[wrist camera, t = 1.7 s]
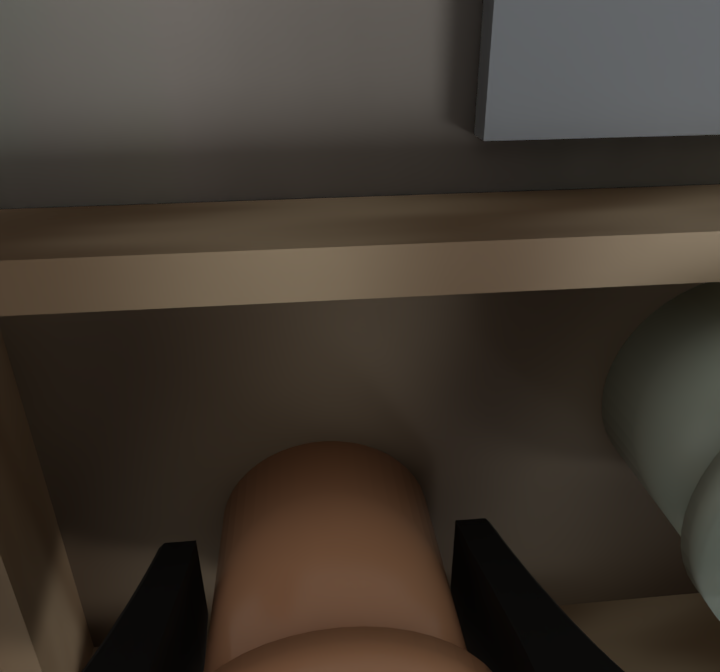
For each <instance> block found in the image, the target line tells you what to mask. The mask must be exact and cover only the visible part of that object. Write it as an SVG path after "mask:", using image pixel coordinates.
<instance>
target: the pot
mask: <svg viewBox="0 0 720 672" xmlns="http://www.w3.org/2000/svg"><path fill="white" fill-rule="evenodd" d="M204 672H492V671H491V670H490V669H489V668H488V667H487V666H486V665H485V664H484V663H483V662H482V661H480V660H479V659H478V658H476V657H475V656H474V655H472V654H471V653H469V652H468V651H467V648H466V644H465V641H464V637H463V634H462V630H461V626H460V623H459V619H458V616H457V612H456V608H455V605H454V601H453V597H452V594H451V590H450V587H449V583H448V579H447V576H446V572H445V569H444V565H443V561H442V558H441V554H440V551H439V547H438V543H437V540H436V536H435V533H434V529H433V525H432V522H431V518H430V515H429V511H428V507H427V504H426V500H425V497H424V494H423V492H422V489H421V487H420V485H419V483H418V482H417V480H416V478H415V477H414V476H413V475H412V474H411V472H410V471H409V470H408V469H407V468H406V467H405V466H403V465H402V464H401V463H400V462H399V461H397V460H396V459H394V458H393V457H391V456H390V455H388V454H386V453H384V452H381V451H379V450H377V449H374V448H371V447H368V446H365V445H361V444H356V443H351V442H341V441H322V442H313V443H307V444H302V445H298V446H294V447H291V448H288V449H285V450H283V451H280V452H278V453H276V454H274V455H272V456H270V457H268V458H266V459H265V460H263V461H262V462H260V463H258V464H257V465H256V466H255V467H253V468H252V469H251V470H250V471H249V472H247V473H246V475H245V476H244V477H243V478H242V479H241V480H240V481H239V482H238V484H237V485H236V487H235V488H234V490H233V491H232V493H231V495H230V497H229V499H228V501H227V504H226V508H225V511H224V518H223V526H222V534H221V541H220V549H219V557H218V564H217V572H216V580H215V588H214V595H213V603H212V611H211V618H210V626H209V634H208V642H207V649H206V657H205V665H204Z"/></svg>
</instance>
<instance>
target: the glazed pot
mask: <svg viewBox="0 0 720 672" xmlns="http://www.w3.org/2000/svg"><path fill="white" fill-rule="evenodd" d="M602 417H603V422H604V427H605V430H606V432H607V435H608V437H609V439H610V441H611V443H612V444H613V446H614V447H615V449H616V450H617V451H618V453H619V454H620V455H621V457H622V458H623V460H624V461H625V462H626V464H627V465H628V466H629V468H630V469H631V470H632V472H633V473H634V474H635V476H636V477H637V478H638V480H639V481H640V482H641V484H642V485H643V486H644V488H645V489H646V490H647V492H648V493H649V495H650V496H651V497H652V499H653V500H654V501H655V503H656V504H657V505H658V507H659V508H660V509H661V511H662V512H663V513H664V515H665V516H666V517H667V519H668V520H669V521H670V523H671V524H672V526H673V527H674V528H675V530H676V531H677V532H678V534H679V535H680V536H681V553H682V560H683V564H684V566H685V569H686V572H687V575H688V576H689V578H690V580H691V581H692V583H693V584H694V586H695V588H696V589H697V590H698V592H699V593H700V595H701V596H702V598H703V599H704V600H705V602H706V603H707V605H708V606H709V608H710V609H711V610H712V612H713V613H714V615H715V616H716V617H717V619H718V620H719V621H720V282H707V283H704V284H701V285H698V286H696V287H694V288H692V289H690V290H688V291H686V292H683V293H682V294H680V295H678V296H677V297H675V298H673V299H672V300H670V301H668V302H667V303H665V304H664V305H663V306H661V307H660V308H659V309H657V310H656V311H655V312H653V313H652V314H651V315H650V316H649V317H648V318H647V319H646V320H645V321H643V322H642V323H641V324H640V325H639V326H638V328H637V329H636V330H635V331H634V332H633V333H632V334H631V335H630V337H629V338H628V339H627V341H626V342H625V344H624V345H623V346H622V348H621V349H620V351H619V352H618V354H617V356H616V358H615V360H614V361H613V363H612V366H611V368H610V370H609V373H608V375H607V378H606V382H605V386H604V390H603V397H602Z"/></svg>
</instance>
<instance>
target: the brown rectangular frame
mask: <svg viewBox="0 0 720 672" xmlns="http://www.w3.org/2000/svg"><path fill="white" fill-rule="evenodd" d="M707 282H720V184H715V185H687V186H658V187H629V188H600V189H571V190H542V191H514V192H485V193H456V194H427V195H398V196H369V197H341V198H312V199H283V200H254V201H225V202H196V203H168V204H139V205H110V206H81V207H52V208H23V209H0V672H82V670H83V669H84V667H85V666H86V665H87V663H88V662H89V660H90V659H91V658H92V656H93V655H94V653H95V652H96V651H97V649H98V648H99V646H100V645H101V644H102V642H103V641H104V639H105V638H106V636H107V635H108V633H109V631H110V630H111V628H112V627H113V625H114V624H115V622H116V621H117V619H118V617H119V616H120V614H121V613H122V611H123V610H124V608H125V607H126V605H127V603H128V602H129V600H130V598H131V597H132V595H133V594H134V592H135V590H136V589H137V587H138V585H139V583H140V582H141V580H142V578H143V577H144V575H145V573H146V571H147V569H148V568H149V566H150V564H151V562H152V560H153V559H154V557H155V555H156V553H157V551H158V549H159V547H161V546H162V545H163V544H164V543H169V542H182V541H195V540H196V543H197V549H198V555H199V561H200V567H201V573H202V579H203V585H204V591H205V597H206V603H207V609H208V626H207V640H206V649H207V642H208V634H209V626H210V618H211V611H212V603H213V595H214V588H215V580H216V572H217V564H218V557H219V549H220V541H221V534H222V526H223V518H224V511H225V508H226V504H227V501H228V499H229V497H230V495H231V493H232V491H233V490H234V488H235V487H236V485H237V484H238V482H239V481H240V480H241V479H242V478H243V477H244V476H245V475H246V473H247V472H249V471H250V470H251V469H252V468H253V467H255V466H256V465H257V464H258V463H260V462H262V461H263V460H265V459H266V458H268V457H270V456H272V455H274V454H276V453H278V452H280V451H283V450H285V449H288V448H291V447H294V446H298V445H302V444H307V443H313V442H322V441H341V442H351V443H356V444H361V445H365V446H368V447H371V448H374V449H377V450H379V451H381V452H384V453H386V454H388V455H390V456H391V457H393V458H394V459H396V460H397V461H399V462H400V463H401V464H402V465H403V466H405V467H406V468H407V469H408V470H409V471H410V472H411V474H412V475H413V476H414V477H415V478H416V480H417V482H418V483H419V485H420V487H421V489H422V492H423V494H424V497H425V500H426V504H427V507H428V511H429V515H430V518H431V522H432V525H433V529H434V533H435V536H436V540H437V543H438V547H439V551H440V554H441V558H442V561H443V565H444V569H445V572H446V576H447V579H448V583H449V587H450V586H451V573H452V560H453V547H454V534H455V521H456V520H466V519H479V518H486V519H487V520H488V521H489V522H490V523H491V524H492V525H493V527H494V528H495V529H496V531H497V532H498V533H499V535H500V536H501V537H502V539H503V540H504V541H505V543H506V544H507V545H508V547H509V548H510V549H511V550H512V552H513V553H514V554H515V555H516V557H517V558H518V559H519V560H520V562H521V563H522V564H523V565H524V567H525V568H526V569H527V570H528V571H529V573H530V574H531V575H532V576H533V577H534V579H535V580H536V581H537V582H538V583H539V584H540V585H541V587H542V588H543V589H544V590H545V591H546V592H547V593H548V595H549V596H550V597H551V598H552V599H553V600H554V601H555V602H556V604H557V605H558V606H559V607H560V608H561V609H562V610H563V611H564V612H565V613H566V614H567V616H568V617H569V618H570V619H571V620H572V621H573V622H574V623H575V624H576V625H577V626H578V627H579V628H580V629H581V630H582V631H583V632H584V633H585V634H586V635H587V636H588V637H589V638H590V639H591V640H592V641H593V642H594V643H595V644H596V645H597V646H598V647H599V648H600V649H601V650H602V651H603V652H604V653H605V654H606V655H607V656H608V657H609V658H610V659H611V660H612V661H614V662H615V663H616V664H617V665H618V666H619V667H620V668H621V669H622V670H623V671H625V672H720V621H719V620H718V619H717V617H716V616H715V615H714V613H713V612H712V610H711V609H710V608H709V606H708V605H707V603H706V602H705V600H704V599H703V598H702V596H701V595H700V593H699V592H698V590H697V589H696V588H695V586H694V584H693V583H692V581H691V580H690V578H689V576H688V575H687V572H686V569H685V566H684V564H683V560H682V553H681V536H680V535H679V534H678V532H677V531H676V530H675V528H674V527H673V526H672V524H671V523H670V521H669V520H668V519H667V517H666V516H665V515H664V513H663V512H662V511H661V509H660V508H659V507H658V505H657V504H656V503H655V501H654V500H653V499H652V497H651V496H650V495H649V493H648V492H647V490H646V489H645V488H644V486H643V485H642V484H641V482H640V481H639V480H638V478H637V477H636V476H635V474H634V473H633V472H632V470H631V469H630V468H629V466H628V465H627V464H626V462H625V461H624V460H623V458H622V457H621V455H620V454H619V453H618V451H617V450H616V449H615V447H614V446H613V444H612V443H611V441H610V439H609V437H608V435H607V432H606V430H605V427H604V422H603V417H602V397H603V390H604V386H605V382H606V378H607V375H608V373H609V370H610V368H611V366H612V363H613V361H614V360H615V358H616V356H617V354H618V352H619V351H620V349H621V348H622V346H623V345H624V344H625V342H626V341H627V339H628V338H629V337H630V335H631V334H632V333H633V332H634V331H635V330H636V329H637V328H638V326H639V325H640V324H641V323H642V322H643V321H645V320H646V319H647V318H648V317H649V316H650V315H651V314H652V313H653V312H655V311H656V310H657V309H659V308H660V307H661V306H663V305H664V304H665V303H667V302H668V301H670V300H672V299H673V298H675V297H677V296H678V295H680V294H682V293H683V292H686V291H688V290H690V289H692V288H694V287H696V286H698V285H701V284H704V283H707ZM205 657H206V652H205ZM204 665H205V664H204ZM203 672H204V671H203Z"/></svg>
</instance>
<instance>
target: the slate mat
mask: <svg viewBox="0 0 720 672" xmlns="http://www.w3.org/2000/svg"><path fill="white" fill-rule="evenodd" d="M474 135H475V136H477V137H478V138H480V139H481V140H483V141H507V140H543V139H578V138H614V137H650V136H686V135H720V0H483V13H482V28H481V42H480V57H479V71H478V86H477V100H476V115H475V129H474Z"/></svg>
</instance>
